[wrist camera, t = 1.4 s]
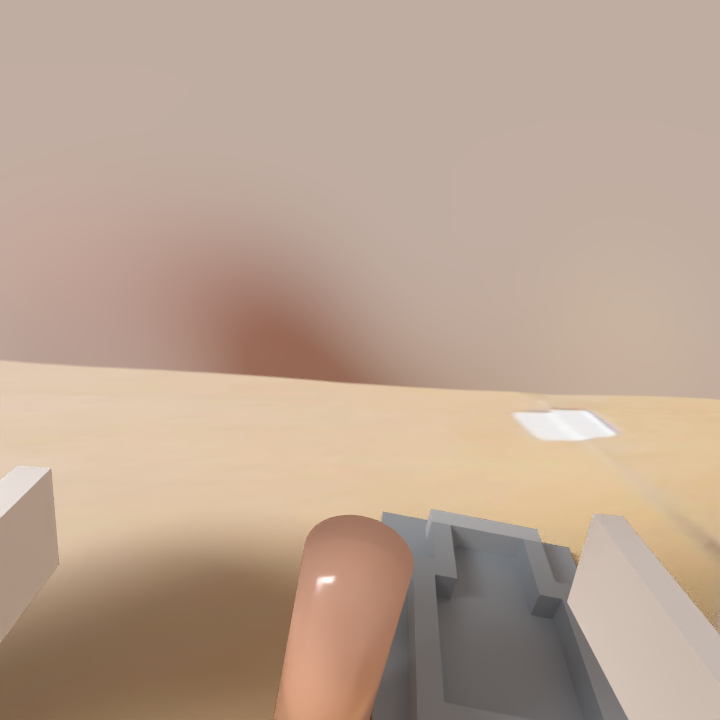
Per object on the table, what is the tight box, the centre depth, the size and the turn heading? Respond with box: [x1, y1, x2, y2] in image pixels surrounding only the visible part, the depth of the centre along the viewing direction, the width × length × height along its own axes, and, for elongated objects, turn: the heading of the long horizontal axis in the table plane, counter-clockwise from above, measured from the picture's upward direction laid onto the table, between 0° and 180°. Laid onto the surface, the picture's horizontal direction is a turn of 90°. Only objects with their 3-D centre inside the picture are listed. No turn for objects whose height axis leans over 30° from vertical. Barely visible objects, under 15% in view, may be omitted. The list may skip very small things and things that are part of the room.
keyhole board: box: [371, 509, 628, 720], centre depth 36 cm, size 16×19×3 cm
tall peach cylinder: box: [274, 515, 414, 720], centre depth 24 cm, size 4×4×14 cm
